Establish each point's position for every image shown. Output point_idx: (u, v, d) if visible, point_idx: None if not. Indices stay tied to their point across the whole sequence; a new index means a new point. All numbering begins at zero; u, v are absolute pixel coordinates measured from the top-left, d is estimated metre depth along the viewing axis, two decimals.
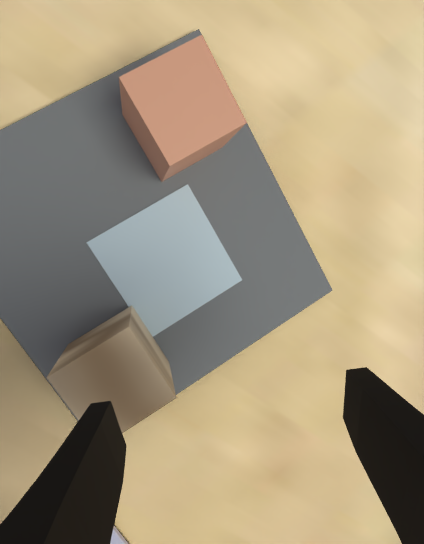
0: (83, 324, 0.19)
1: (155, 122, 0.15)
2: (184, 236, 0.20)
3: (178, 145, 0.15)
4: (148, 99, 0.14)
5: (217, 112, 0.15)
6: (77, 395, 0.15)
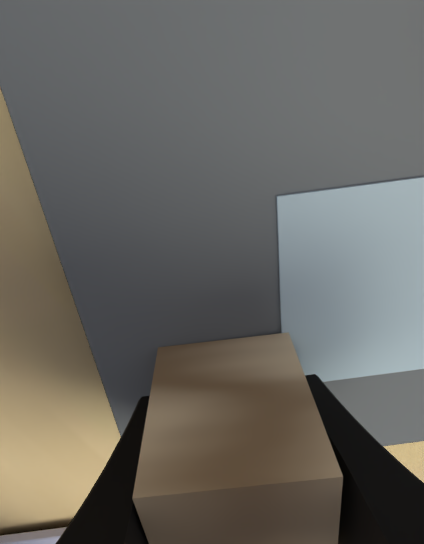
0: (195, 329, 0.10)
1: None
2: None
3: None
4: None
5: None
6: (175, 535, 0.07)
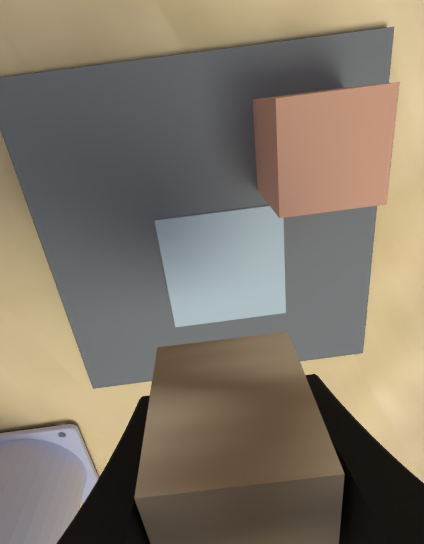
0: (120, 291, 0.19)
1: (289, 166, 0.12)
2: (252, 253, 0.18)
3: (300, 200, 0.13)
4: (295, 137, 0.12)
5: (361, 182, 0.12)
6: (177, 535, 0.07)
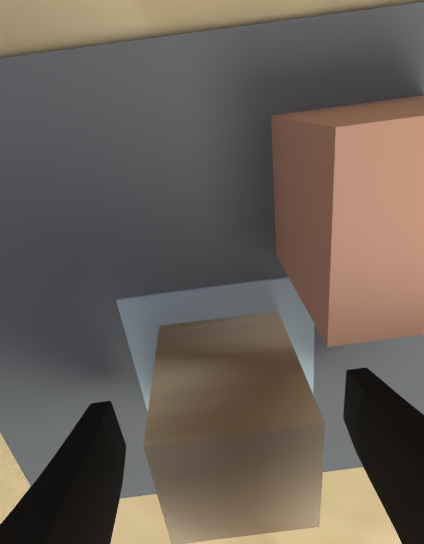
0: (72, 393, 0.13)
1: (353, 260, 0.06)
2: None
3: (369, 317, 0.07)
4: (370, 207, 0.06)
5: None
6: (179, 481, 0.08)
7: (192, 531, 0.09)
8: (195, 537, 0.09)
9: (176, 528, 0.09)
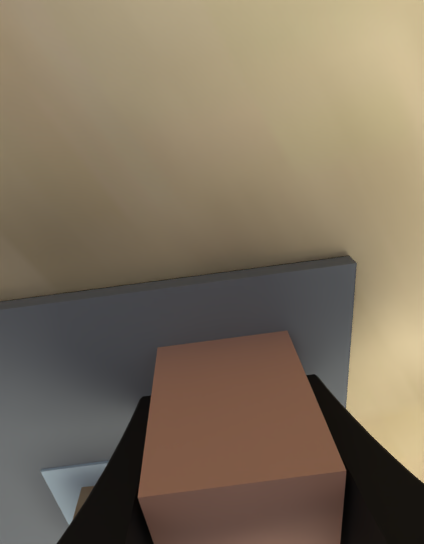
0: (10, 534, 0.14)
1: None
2: None
3: None
4: (180, 531, 0.07)
5: None
6: None
7: None
8: None
9: None
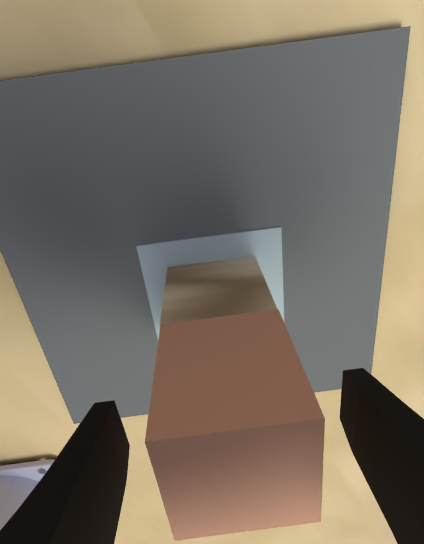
0: (100, 322, 0.17)
1: (178, 498, 0.09)
2: None
3: (200, 525, 0.09)
4: (181, 474, 0.08)
5: (283, 505, 0.09)
6: None
7: None
8: None
9: None
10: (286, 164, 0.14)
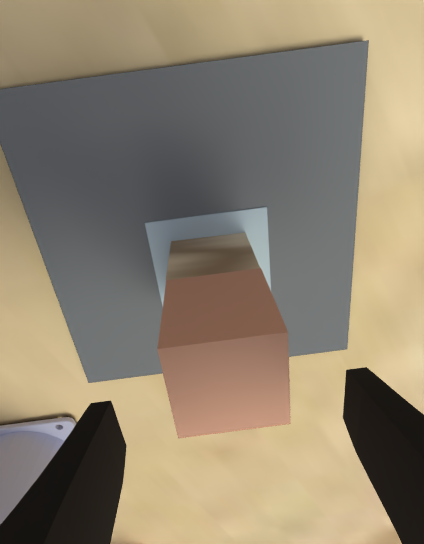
0: (113, 290, 0.20)
1: (181, 399, 0.12)
2: None
3: (197, 424, 0.12)
4: (183, 378, 0.11)
5: (260, 408, 0.12)
6: None
7: None
8: None
9: None
10: (270, 153, 0.17)
